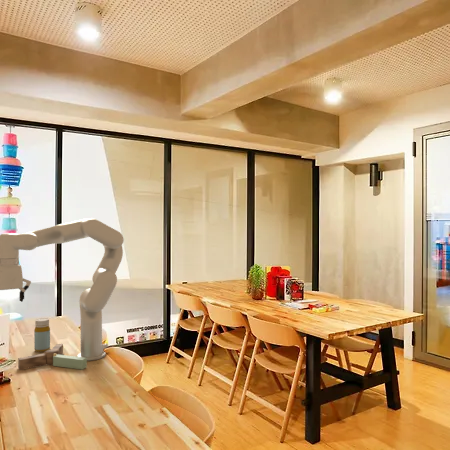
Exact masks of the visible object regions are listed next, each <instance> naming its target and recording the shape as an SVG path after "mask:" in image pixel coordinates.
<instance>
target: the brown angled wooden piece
mask: <svg viewBox="0 0 450 450" xmlns="http://www.w3.org/2000/svg"><path fill="white" fill-rule="evenodd" d="M54 353H56V355H64V354H63V353H64V344H63V343H56V344H55V345H54V346H53V347H52V349H51V348H50V349H49V350H47V351H45V352H42V353H39V354H34V355H29V356H23V357H22V356H21V357H19V358H17V362H18V369H19V371H23V370H27V369H31V368H37V367H42V366H46V365H48V366H51V365H52V366H53V354H54Z"/></svg>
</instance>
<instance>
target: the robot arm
mask: <svg viewBox="0 0 450 450" xmlns="http://www.w3.org/2000/svg"><path fill="white" fill-rule="evenodd" d="M86 238H91V239H92V240H94V241H96V242H98V243H100V244H102V246H103V247H104V253H103V256H102V259H101V260H100V262H99V265H97V267H96V269H95V271H94V272H93V275H92V282H93V283H92V285H91V287H89V288H86V289H85V290H83V291H82V292H81V294H80V297H79V312H80V313H79V314H80V352H79V353H77V356H76V357H85V358H87V362H88V361H89V362H90V361H95V360H100V359H103V358H105V357H106V354H107V353H106V351H104V349H106V348H108V347H109V344H108V343H107V342H106V343H103V313H102V312H103V311H102V310H103V309H104V308H105V307H106V305H107V304H108V301H109V300H110V297H111V295H112V294H113V292H114V291H115V289H116V286H117V282H118V277H117V273H116V272H117V271H118V269H119V266H120V264H121V262H122V259H123V257H124V256H123V254H124V250H123V244H124V240H125V239H124V236H123V234H122V233H121V232H120V231H118V230H116V229H115V228H112V227H111V226H110V225H107V224H105V223H104V222H102V221H100V220H98V219H97V218H93V217H91V218H83V219H78V220H73V221H71V222H65V223H60V224H56V225H54V226H49V227H45V228H42V229H37V230H32V231H27V232H24V233H10V232H9V233H0V291H7V290H16V289H18V290H20V291H19V301H20V302H23V301H24V300H25V293H26V291H27V290H28V289H29V288H30V285H31V283H32V281H31V280H29V279H26V278H25V277H23V269H22V268H23V267H22V265H21V264H20V263H19V262H20V260H19V258H20V256H19V255H20V254H19V253H20V250H21V251H33V250H35V249H36V248H39V247H43V246H48V245H54V244H65V243H70V242H73V241H78V240H81V239H86ZM24 283H26V284H25V285H24Z"/></svg>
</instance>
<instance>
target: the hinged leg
mask: <svg viewBox="0 0 450 450" xmlns="http://www.w3.org/2000/svg"><path fill="white" fill-rule="evenodd" d="M87 362H88V361H87V358H85V357H77V356H75V355H67V354H62V355H56V353H54V354H53V365H52V366H54V367H59V368H61V367H62V368H68V369H77V370H84V369H85V368H87V367H88V363H87Z"/></svg>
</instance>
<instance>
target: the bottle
mask: <svg viewBox="0 0 450 450" xmlns="http://www.w3.org/2000/svg"><path fill="white" fill-rule="evenodd" d="M34 323H35V325H34V327H35V328H34V330H33V331H34V337H33V339H34V341H33V342H34V347H33V348H34V351H35V352H36V353H45V351H47V350H51V327H50V318H48V317H47V318H45V317H44V318H42V317H41V318H38V319H37V318H36V319H35V320H34Z"/></svg>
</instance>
